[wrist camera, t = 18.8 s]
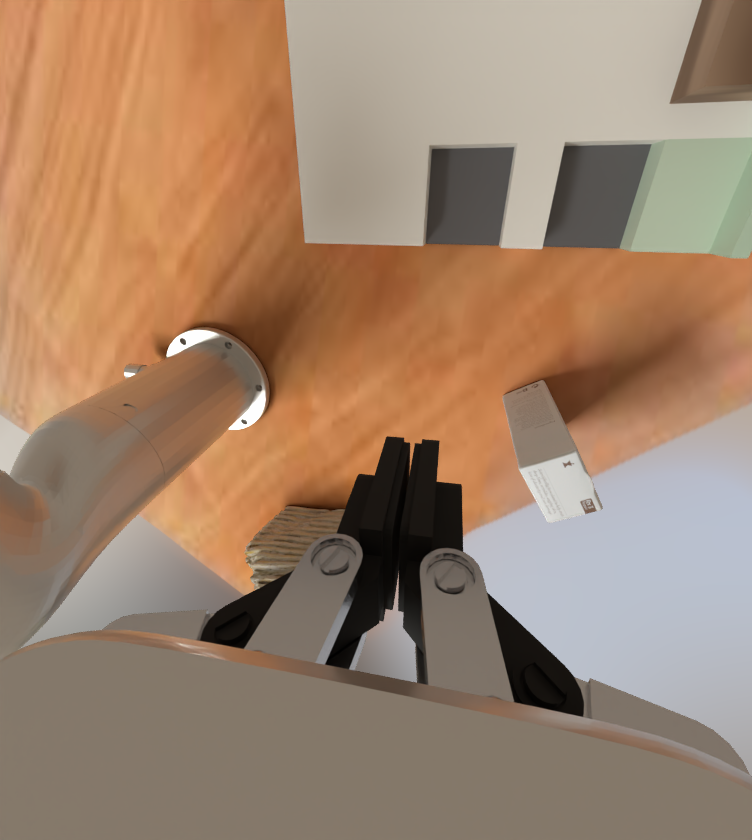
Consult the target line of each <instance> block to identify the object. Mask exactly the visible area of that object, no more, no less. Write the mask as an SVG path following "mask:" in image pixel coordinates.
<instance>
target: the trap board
mask: <svg viewBox="0 0 752 840" xmlns="http://www.w3.org/2000/svg"><path fill="white" fill-rule="evenodd" d="M701 1H702V0H284V2H285V13H286V25H287V37H288V49H289V61H290V72H291V84H292V96H293V108H294V119H295V131H296V143H297V155H298V167H299V178H300V190H301V202H302V214H303V225H304V237H305V243H325V244H363V245H402V246H423V245H425V244H465V245H499V246H500V248H517V249H542V248H543V246H546V247H586V248H620V249H623V250H627V251H633V252H672V253H709V254H714V255H718V256H723V257H728V258H748V257H749V255H750V253H751V251H752V101H730V102H706V103H682V104H669V103H670V100H671V97H672V94H673V90H674V87H675V84H676V81H677V78H678V74H679V71H680V68H681V65H682V62H683V58H684V55H685V52H686V49H687V46H688V43H689V39H690V36H691V33H692V30H693V27H694V23H695V20H696V17H697V14H698V11H699V7H700V4H701Z"/></svg>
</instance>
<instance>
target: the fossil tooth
mask: <svg viewBox="0 0 752 840" xmlns="http://www.w3.org/2000/svg"><path fill="white" fill-rule="evenodd" d="M344 511H345V509H337V510H333V511H329V510H326V509H311V508H304V507H295V506H287V507H286V508H285V510H284V511H281V512H280V513H279V514H278V515H276V516H275V517H274V519H272V520H271V521H269V522H268V524H267V525H265V526H264V527H263V528H262V530H260V531H259V532H258V533H257V534H256V535H255V536H254V538H253V540H252V541H250V543H249V544H248V545H247V546H246V550H245V552H244V553H245V554H246V555H247V556H248V557H247V558H246V562H247V563H248V565H249V566H250V568H251V569H253V572H254V573H253V576H251V577H250V579H251V581H252V583H254V584H255V586H254V589H256V590H257V589H259V588H260V587H262V586H264V585H266V584H268V583H270V582H272V581H274V580H276V579H278V578H280V577H281V576H283V575H285V574H287V573H289V572H291V571H293V570H294V569H295V568H296V566H297V564H298V563H299V561H300V560H301V558H302V557H303V555H304V553H305V552H306V550H307V549H308V548H309V546H310V545H311V544H312V543H313V542H314V541H316V540H317V539H319V538H320V537H323V536H326V535H329V534H336V533H337V530H338V527H339V525H340V522H341V519H342V517H343V514H344Z"/></svg>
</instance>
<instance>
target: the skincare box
mask: <svg viewBox="0 0 752 840" xmlns="http://www.w3.org/2000/svg"><path fill="white" fill-rule="evenodd" d="M503 403H504V407H505V411H506V415H507V419H508V424H509V428H510V432H511V437H512V441H513V445H514V449H515V453H516V457H517V462H518V467H519V471H520V472H521V474H522V476H523V478H524V480H525V481H526V483H527V485H528V487H529V489H530V491H531V492H532V494H533V496H534V498H535V500H536V502H537V504H538V505H539V507H540V509H541V511H542V513H543V515H544V516H545V518H546V520H547V522H548V523H551V522H555V521H560V520H564V519H568V518H572V517H575V516H579V515H583V514H587V513H591V512H595V511H599V510H602V504H601V502H600V500H599V497H598V495H597V493H596V491H595V488H594V485H593V482H592V480H591V478H590V476H589V475H588V472H587V470H586V467H585V465H584V463H583V461H582V459H581V456H580V454H579V452H578V450H577V447H576V445H575V443H574V441H573V439H572V437H571V435H570V433H569V431H568V429H567V427H566V425H565V423H564V420H563V418H562V416H561V414H560V412H559V410H558V408H557V406H556V404H555V402H554V400H553V398H552V396H551V393H550V391H549V389H548V387H547V385H546V383H545V382H544V380H540V381H538V382H535V383H533V384H530V385H527V386H525V387H522V388H520V389H517V390H514V391H512V392H510V393H507V394H505V395H504V396H503Z"/></svg>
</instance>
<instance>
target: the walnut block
mask: <svg viewBox="0 0 752 840" xmlns="http://www.w3.org/2000/svg"><path fill="white" fill-rule="evenodd" d="M730 101H752V0H702V1H701V4H700V7H699V11H698V14H697V17H696V20H695V23H694V27H693V30H692V33H691V36H690V39H689V43H688V46H687V49H686V52H685V55H684V58H683V62H682V65H681V68H680V71H679V74H678V78H677V81H676V84H675V87H674V90H673V94H672V97H671V100H670V103H669V104H682V103H706V102H730Z"/></svg>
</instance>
